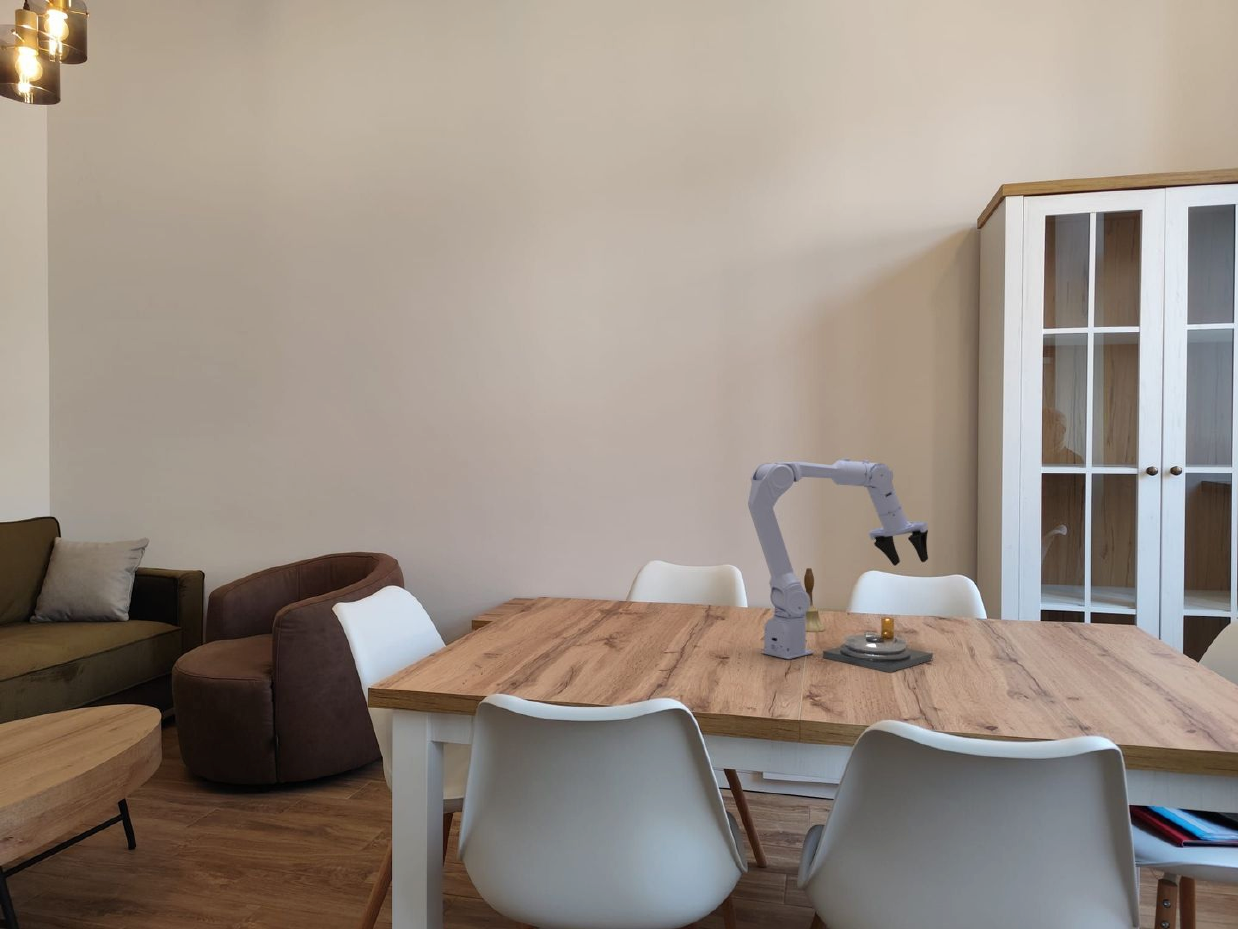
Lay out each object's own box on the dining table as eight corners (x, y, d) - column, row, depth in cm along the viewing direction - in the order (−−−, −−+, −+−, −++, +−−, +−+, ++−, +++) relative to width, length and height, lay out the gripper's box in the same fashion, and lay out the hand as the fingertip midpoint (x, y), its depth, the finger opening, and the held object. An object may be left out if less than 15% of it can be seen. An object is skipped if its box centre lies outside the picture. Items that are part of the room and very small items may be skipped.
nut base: (890, 672, 178) (890, 660, 178) (823, 657, 191) (823, 645, 191) (932, 660, 189) (932, 648, 189) (866, 646, 202) (866, 635, 202)
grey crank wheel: (884, 657, 180) (884, 629, 180) (833, 646, 190) (833, 620, 190) (917, 648, 189) (917, 622, 189) (866, 638, 199) (866, 613, 198)
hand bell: (817, 633, 217) (818, 571, 217) (787, 629, 222) (788, 568, 222) (830, 628, 223) (831, 568, 223) (801, 624, 228) (801, 565, 228)
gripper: (924, 498, 196) (945, 551, 198) (871, 508, 208) (892, 558, 209) (910, 510, 192) (932, 564, 193) (857, 519, 203) (878, 570, 204)
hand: (910, 562), depth 201 cm, fingers open, 7 cm apart
